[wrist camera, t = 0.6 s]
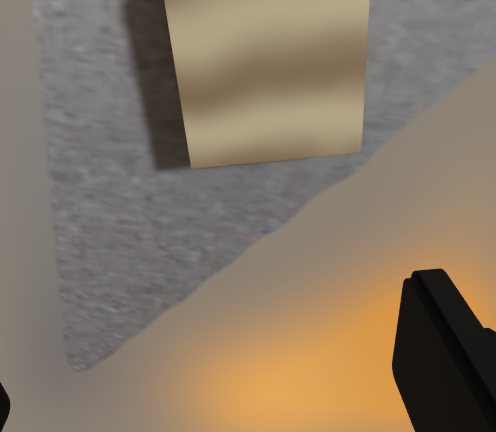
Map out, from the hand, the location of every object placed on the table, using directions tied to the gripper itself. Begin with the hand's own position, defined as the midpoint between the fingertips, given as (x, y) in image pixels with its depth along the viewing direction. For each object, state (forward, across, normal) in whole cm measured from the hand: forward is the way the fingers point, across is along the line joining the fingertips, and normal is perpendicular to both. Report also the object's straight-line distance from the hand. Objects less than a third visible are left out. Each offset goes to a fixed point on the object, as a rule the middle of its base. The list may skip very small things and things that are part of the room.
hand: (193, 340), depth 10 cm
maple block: (+26, -4, 0) cm, 26 cm away
